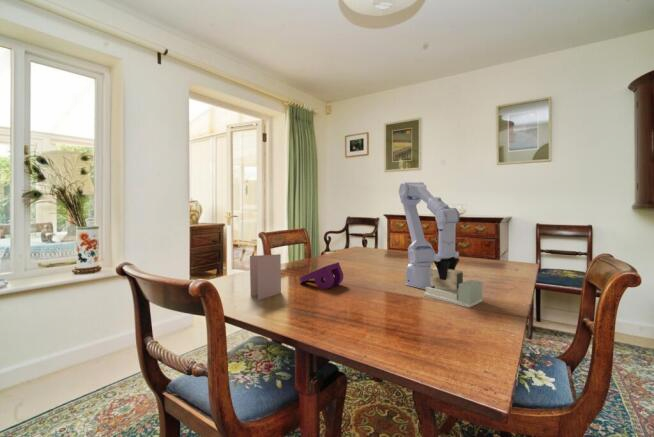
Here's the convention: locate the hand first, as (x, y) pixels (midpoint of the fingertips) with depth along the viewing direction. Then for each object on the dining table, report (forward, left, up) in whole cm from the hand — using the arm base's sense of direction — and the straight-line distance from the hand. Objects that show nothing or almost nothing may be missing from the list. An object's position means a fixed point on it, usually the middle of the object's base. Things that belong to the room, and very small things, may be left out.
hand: (446, 278), depth 116 cm
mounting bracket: (-44, -24, -7) cm, 51 cm away
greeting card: (-44, -49, -7) cm, 66 cm away
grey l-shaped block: (+2, 0, -7) cm, 7 cm away
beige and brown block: (0, 0, -3) cm, 3 cm away
